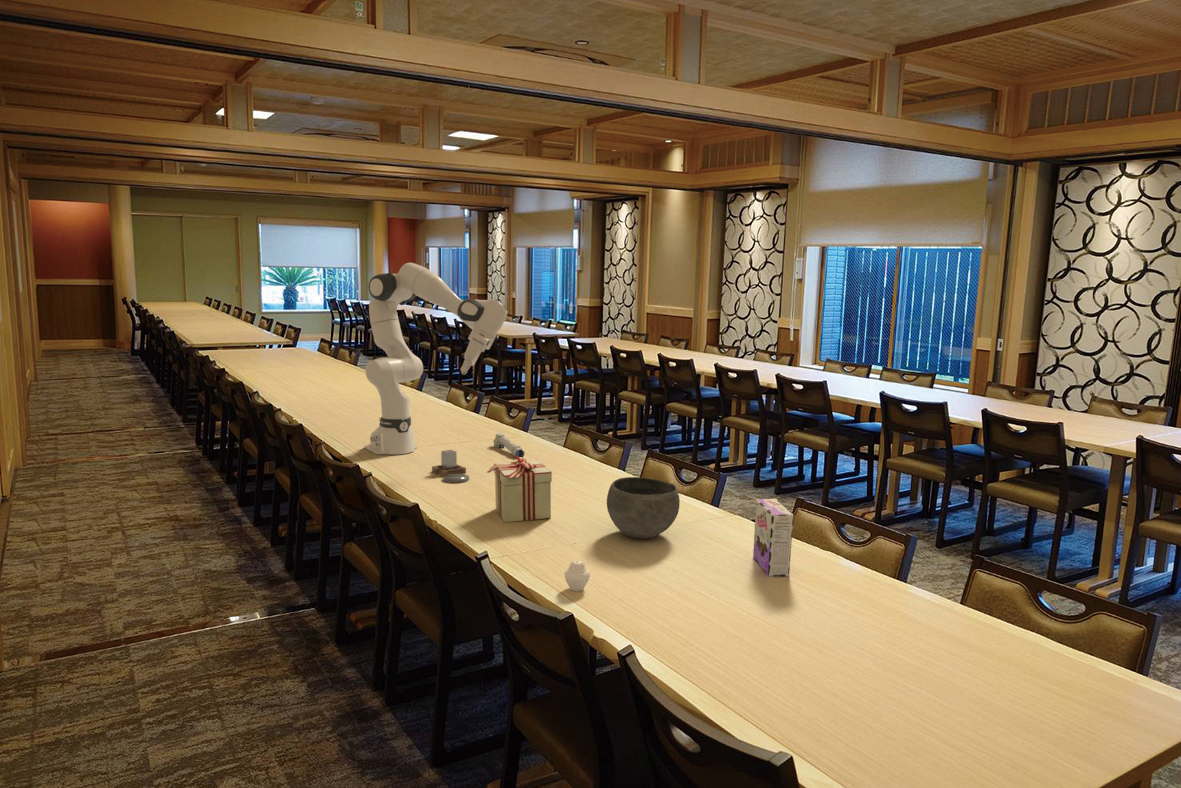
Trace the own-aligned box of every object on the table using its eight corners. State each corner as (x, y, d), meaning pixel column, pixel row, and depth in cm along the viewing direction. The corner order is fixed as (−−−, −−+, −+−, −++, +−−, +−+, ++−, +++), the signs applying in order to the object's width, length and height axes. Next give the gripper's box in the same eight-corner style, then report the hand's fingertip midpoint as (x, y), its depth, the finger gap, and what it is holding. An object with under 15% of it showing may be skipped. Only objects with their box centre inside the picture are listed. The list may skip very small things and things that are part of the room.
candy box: (752, 557, 214) (755, 498, 212) (773, 557, 215) (777, 498, 212) (767, 577, 201) (771, 514, 198) (790, 576, 201) (794, 513, 199)
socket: (432, 471, 296) (432, 466, 296) (453, 468, 302) (453, 463, 301) (444, 476, 289) (444, 471, 289) (466, 473, 295) (466, 467, 295)
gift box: (482, 510, 251) (482, 456, 248) (537, 504, 258) (538, 452, 256) (498, 526, 236) (498, 469, 233) (556, 520, 243) (557, 464, 240)
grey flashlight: (514, 449, 318) (491, 429, 339) (513, 465, 319) (491, 444, 341) (526, 448, 320) (503, 428, 341) (525, 464, 322) (502, 443, 343)
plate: (438, 479, 286) (438, 476, 285) (459, 475, 292) (459, 472, 292) (453, 484, 279) (453, 481, 279) (474, 480, 286) (474, 477, 286)
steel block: (441, 472, 296) (441, 451, 294) (450, 470, 298) (450, 449, 297) (447, 474, 293) (446, 453, 291) (456, 472, 295) (456, 451, 294)
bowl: (657, 553, 216) (659, 499, 214) (591, 537, 227) (592, 486, 225) (690, 532, 234) (692, 482, 231) (627, 519, 245) (629, 471, 242)
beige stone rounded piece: (560, 591, 189) (560, 563, 188) (569, 582, 195) (570, 554, 194) (584, 595, 187) (584, 567, 186) (593, 586, 193) (594, 558, 192)
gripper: (473, 340, 308) (455, 371, 306) (472, 331, 287) (454, 365, 286) (487, 347, 308) (470, 379, 306) (488, 340, 288) (469, 373, 286)
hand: (462, 372), depth 296 cm, fingers open, 8 cm apart
